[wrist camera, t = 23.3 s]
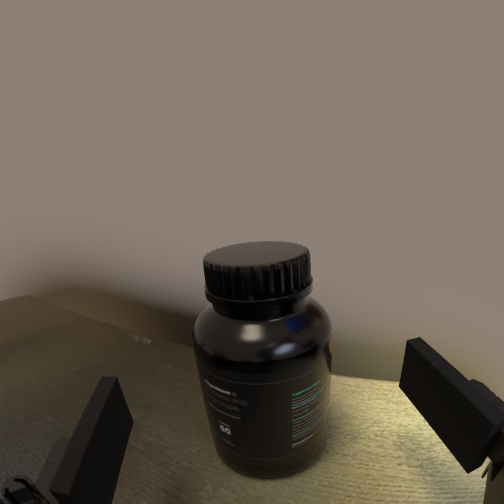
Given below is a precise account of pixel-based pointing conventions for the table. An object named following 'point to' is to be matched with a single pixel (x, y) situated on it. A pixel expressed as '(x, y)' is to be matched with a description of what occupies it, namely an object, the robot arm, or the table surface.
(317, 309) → the supplement bottle
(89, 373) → the table surface
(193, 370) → the table surface
